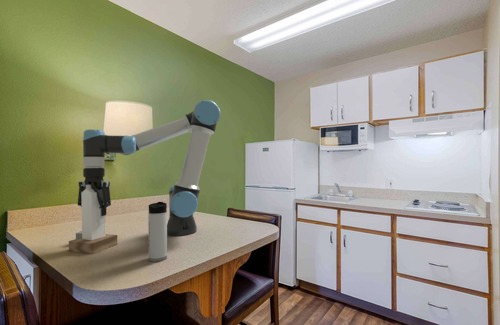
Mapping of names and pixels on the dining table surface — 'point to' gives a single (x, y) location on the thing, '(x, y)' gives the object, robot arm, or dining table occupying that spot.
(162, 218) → the travel mug
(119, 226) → the dining table surface
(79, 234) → the grey block
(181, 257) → the dining table surface
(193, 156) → the robot arm
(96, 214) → the milk
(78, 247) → the stand
